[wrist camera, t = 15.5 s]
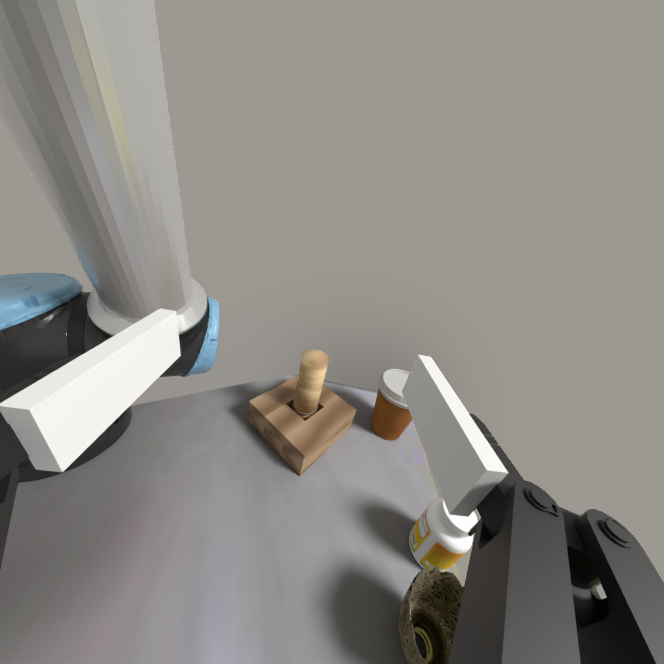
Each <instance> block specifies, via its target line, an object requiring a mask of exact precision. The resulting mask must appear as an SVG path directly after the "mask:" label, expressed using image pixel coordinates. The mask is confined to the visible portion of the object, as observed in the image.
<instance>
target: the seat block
mask: <svg viewBox="0 0 664 664" xmlns="http://www.w3.org/2000/svg"><path fill="white" fill-rule="evenodd" d="M297 381H298V376H296V377H294V378H292V379H290V380H288V381H287V382H285V383H283V384H281V385H279V386H277V387H275V388H273V389H271V390H269V391H267V392H265V393H263V394H261V395H260V396H258V397H256V398H254V399H252V400H250V401H249V414H248V421H249V422H250V423H251V424H252V425H253V426H254V427H255V429H256V430H257V431H258V432H259V433H260V434H261V435H262V436H263V437H264V438H265V439H266V440H267V441H268V443H269V444H270V445H271V446H272V447H273V448H274V449H275V450H276V451H277V452H278V453H279V454H280V455H281V457H282V458H283V459H284V460H285V461H286V462H287V463H288V464H289V465H290V466H291V467H292V468H293V469H294V471H295V472H296V473H297V474H298V475H299V476H300V475H301V474H302V473H304V472H305V471H306V470H307V469H308V468H309V467H310V466H311V465H312V464H313V463H314V462H315V461H316V460H317V459H318V458H319V457H320V456H321V455H322V454H323V453H324V452H325V451H327V450H328V449H329V448H330V447H331V446H332V445H333V444H334V443H335V442H336V441H337V440H338V439H339V438H340V437H341V436H342V435H343V434H344V433H345V432H346V431H347V430H348V429H350V428H351V425H352V422H353V419H354V416H355V413H356V411H357V410H356V409H355V408H354V407H352V406H351V405H350V404H348V403H347V402H346V401H344V400H343V399H342V398H340V397H339V396H338V395H336V394H335V393H334V392H332V391H331V390H330V389H328V388H327V387H326V386H324V385H323V386H322V390H321V394H320V398H319V403H318V409H317V411H316V412H315V413H314V414H313V416H311V417H310V418H308V419H307V420H306V421H304V420H303V419H302V418H301V417H300V416H299V415H298V414H297V413H295V410H294V408H293V401H294V398H295V392H296V387H297Z"/></svg>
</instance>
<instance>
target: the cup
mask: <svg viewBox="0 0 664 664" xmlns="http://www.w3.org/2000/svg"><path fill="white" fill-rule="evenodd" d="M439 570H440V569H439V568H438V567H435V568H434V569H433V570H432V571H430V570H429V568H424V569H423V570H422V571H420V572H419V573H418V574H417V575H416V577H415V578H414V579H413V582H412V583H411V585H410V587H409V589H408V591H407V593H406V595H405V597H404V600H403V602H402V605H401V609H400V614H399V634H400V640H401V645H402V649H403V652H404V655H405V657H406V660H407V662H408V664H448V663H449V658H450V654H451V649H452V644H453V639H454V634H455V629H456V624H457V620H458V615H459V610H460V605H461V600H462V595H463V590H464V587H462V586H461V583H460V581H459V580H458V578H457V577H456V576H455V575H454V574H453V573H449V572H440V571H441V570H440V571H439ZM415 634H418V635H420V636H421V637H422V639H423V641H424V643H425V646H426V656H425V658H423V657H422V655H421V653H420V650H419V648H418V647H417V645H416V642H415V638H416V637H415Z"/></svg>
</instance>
